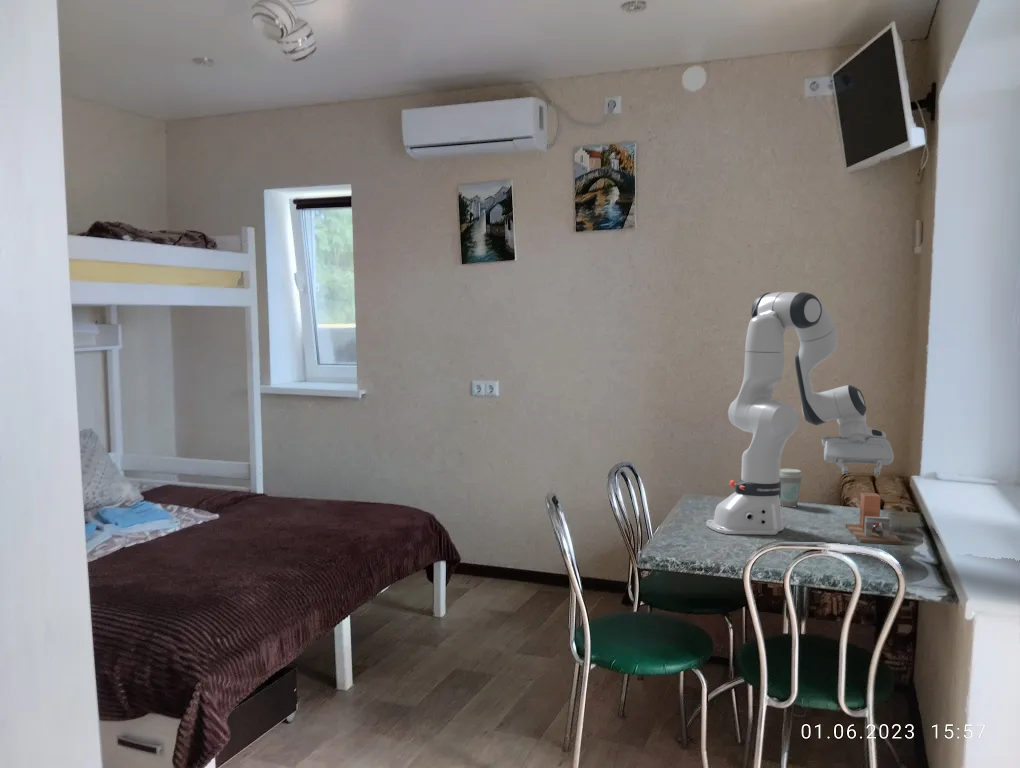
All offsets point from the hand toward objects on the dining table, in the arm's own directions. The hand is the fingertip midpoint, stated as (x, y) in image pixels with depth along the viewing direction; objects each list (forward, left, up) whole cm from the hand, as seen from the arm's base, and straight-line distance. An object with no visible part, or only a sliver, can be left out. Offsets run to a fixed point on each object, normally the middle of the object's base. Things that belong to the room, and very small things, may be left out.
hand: (861, 473), depth 252 cm
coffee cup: (-10, +26, -16) cm, 32 cm away
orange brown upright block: (-5, -14, -14) cm, 21 cm away
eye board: (-5, -14, -15) cm, 22 cm away
